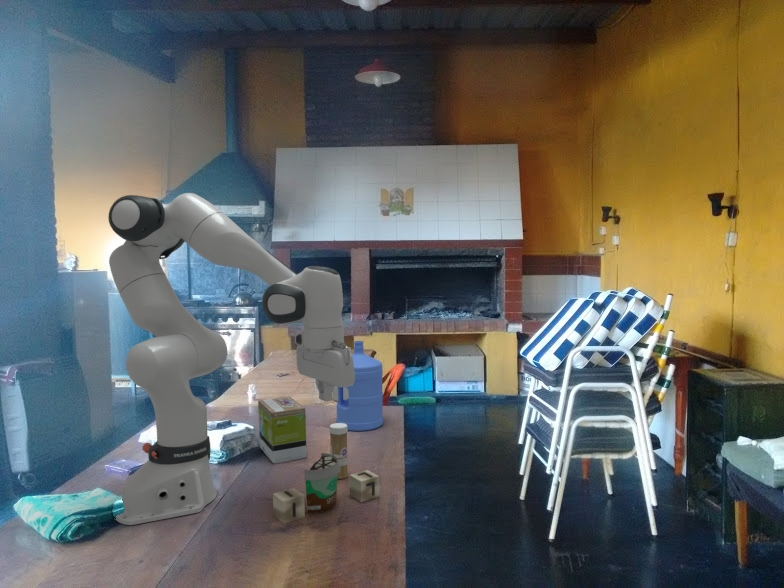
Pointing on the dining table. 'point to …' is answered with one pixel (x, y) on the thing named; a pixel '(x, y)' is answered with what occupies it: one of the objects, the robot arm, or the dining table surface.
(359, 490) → the numbered block seven
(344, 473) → the sprinkles bottle
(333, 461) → the food container
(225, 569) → the dining table surface
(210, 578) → the dining table surface
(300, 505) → the numbered block one
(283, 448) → the tea box
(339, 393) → the water jug
